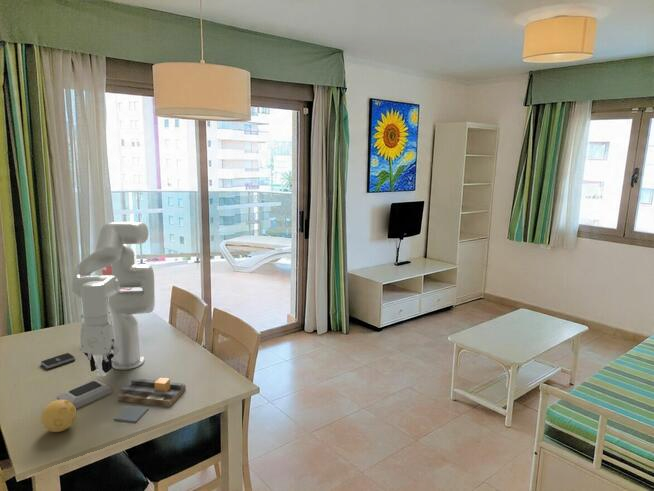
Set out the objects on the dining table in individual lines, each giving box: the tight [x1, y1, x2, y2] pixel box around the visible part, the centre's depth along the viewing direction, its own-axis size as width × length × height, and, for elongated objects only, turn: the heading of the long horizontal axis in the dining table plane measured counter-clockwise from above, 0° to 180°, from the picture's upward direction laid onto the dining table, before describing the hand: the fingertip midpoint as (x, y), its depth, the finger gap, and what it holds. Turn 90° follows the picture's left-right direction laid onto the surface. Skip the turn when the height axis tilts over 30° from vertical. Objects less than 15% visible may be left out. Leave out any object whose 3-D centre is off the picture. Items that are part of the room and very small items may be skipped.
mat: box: [113, 405, 150, 423], centre depth 154 cm, size 8×8×1 cm
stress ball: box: [40, 399, 77, 433], centre depth 144 cm, size 10×10×10 cm
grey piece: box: [117, 377, 187, 407], centre depth 167 cm, size 20×12×4 cm, turn 81°
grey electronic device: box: [56, 378, 113, 409], centre depth 164 cm, size 10×4×15 cm
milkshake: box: [92, 354, 109, 378], centre depth 150 cm, size 4×5×10 cm
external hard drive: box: [40, 352, 76, 371], centre depth 189 cm, size 7×11×2 cm, turn 143°
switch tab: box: [154, 377, 171, 391], centre depth 165 cm, size 4×4×4 cm
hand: (101, 369), depth 150 cm, fingers closed on milkshake, 4 cm apart
